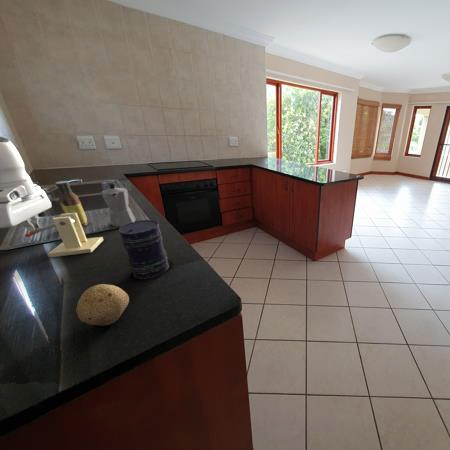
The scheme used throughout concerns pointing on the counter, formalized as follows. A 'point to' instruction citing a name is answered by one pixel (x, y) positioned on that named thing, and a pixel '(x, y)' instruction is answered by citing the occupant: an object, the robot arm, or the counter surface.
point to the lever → (44, 228)
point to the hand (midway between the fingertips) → (34, 229)
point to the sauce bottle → (70, 202)
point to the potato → (102, 304)
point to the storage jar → (144, 248)
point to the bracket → (72, 237)
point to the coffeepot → (118, 206)
